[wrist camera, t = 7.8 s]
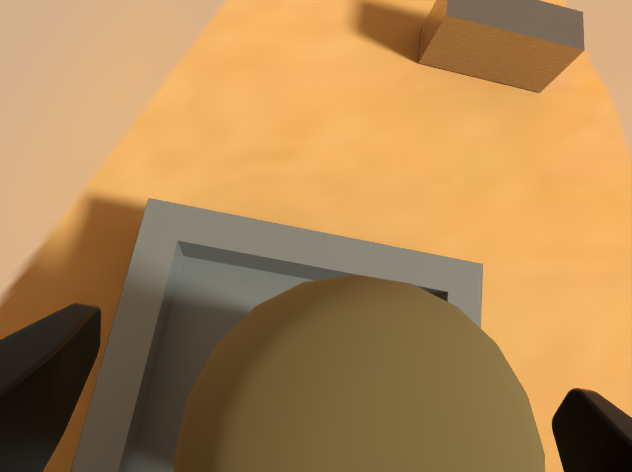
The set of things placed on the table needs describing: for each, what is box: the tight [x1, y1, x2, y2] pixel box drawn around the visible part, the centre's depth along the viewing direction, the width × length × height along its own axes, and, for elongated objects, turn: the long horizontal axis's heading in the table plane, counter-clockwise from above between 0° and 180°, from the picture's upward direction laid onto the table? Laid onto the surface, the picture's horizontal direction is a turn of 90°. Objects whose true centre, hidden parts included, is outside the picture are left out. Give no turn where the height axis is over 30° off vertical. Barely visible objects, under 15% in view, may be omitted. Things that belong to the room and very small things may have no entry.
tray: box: [71, 198, 483, 472], centre depth 15 cm, size 11×11×2 cm
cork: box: [174, 275, 545, 472], centre depth 11 cm, size 6×6×11 cm
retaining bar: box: [418, 0, 584, 93], centre depth 21 cm, size 2×6×3 cm, turn 81°
